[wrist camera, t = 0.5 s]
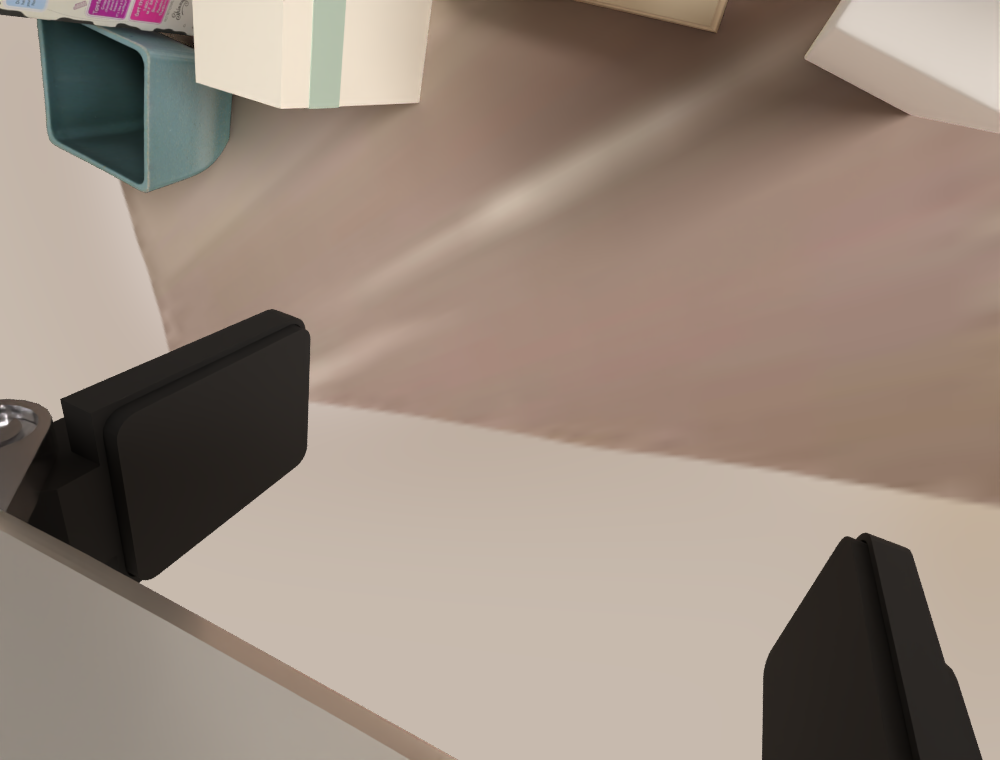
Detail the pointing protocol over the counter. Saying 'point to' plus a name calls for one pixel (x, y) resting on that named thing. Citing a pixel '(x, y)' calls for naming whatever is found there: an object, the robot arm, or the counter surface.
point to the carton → (313, 50)
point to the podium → (672, 11)
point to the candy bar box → (110, 13)
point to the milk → (919, 56)
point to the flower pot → (130, 103)
